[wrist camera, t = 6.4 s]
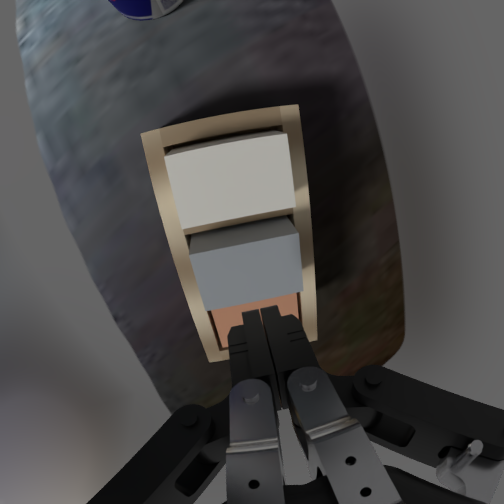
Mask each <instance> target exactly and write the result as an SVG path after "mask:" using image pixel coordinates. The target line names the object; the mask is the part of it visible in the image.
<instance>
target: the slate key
mask: <svg viewBox="0 0 504 504" xmlns="http://www.w3.org/2000/svg"><path fill="white" fill-rule="evenodd" d="M189 257H190V261H191V264H192V268H193V271H194V275H195V278H196V281H197V285H198V288H199V291H200V295H201V298H202V301H203V304H204V308H205V311H210V310H215V309H220V308H225V307H231V306H236V305H241V304H246V303H251V302H255V301H260V300H265V299H270V298H274V297H279V296H284V295H288V294H293V293H297V292H301V291H304V290H303V277H302V265H301V253H300V242H299V233H298V231H297V230H296V228H295V227H294V226H293V224H292V223H291V221H290V220H289V219H288V217H287V216H286V215H282V216H277V217H272V218H267V219H261V220H256V221H251V222H246V223H241V224H236V225H231V226H226V227H221V228H216V229H211V230H206V231H201V232H197V233H192V234H191V242H190V250H189Z"/></svg>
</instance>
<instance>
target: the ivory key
mask: <svg viewBox="0 0 504 504" xmlns="http://www.w3.org/2000/svg"><path fill="white" fill-rule="evenodd" d="M164 159H165V164H166V168H167V172H168V177H169V181H170V185H171V189H172V193H173V197H174V201H175V205H176V209H177V213H178V217H179V221H180V224H181V228H182V229H186V228H191V227H196V226H201V225H205V224H210V223H215V222H220V221H225V220H230V219H235V218H240V217H245V216H250V215H255V214H261V213H266V212H271V211H276V210H282V209H287V208H293V207H296V202H295V193H294V185H293V176H292V168H291V160H290V152H289V145H288V137H287V133H283V132H279V131H276V130H270V131H263V132H256V133H250V134H244V135H238V136H233V137H227V138H222V139H217V140H212V141H207V142H202V143H197V144H193V145H188V146H184V147H179V148H175V149H172V150H171V151H170V152H169V153H167V154H166V155H165V156H164Z"/></svg>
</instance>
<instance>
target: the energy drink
mask: <svg viewBox="0 0 504 504" xmlns="http://www.w3.org/2000/svg"><path fill="white" fill-rule="evenodd" d="M108 1H109V2H110V3H111V4H112V5H113V6H114V7H115V8H116V9H117V10H118V11H119V12H120V13H121V14H122V15H124V16H126V17H127V18H130V19H133V20H141V21H142V20H151V19H156V18H159V17H162V16H164V15H166V14H168V13H170V12H171V11H173V10H174V9H176V8H177V7H178V6H179V5H180V4H181V3H182V2H183V0H108Z"/></svg>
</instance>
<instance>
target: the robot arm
mask: <svg viewBox="0 0 504 504" xmlns="http://www.w3.org/2000/svg"><path fill="white" fill-rule="evenodd" d="M260 312H261V316H260ZM260 312H259V309H255V310H250V311H245V312H242V319H243V325H238V326H233V327H231V329H230V331H229V333H228V335H227V340H228V350H229V359H230V368H231V377H232V389H231V392H230V394H229V395H228V396H227V398H225V399H224V400H223V401H222V402H220V403H218V404H216V405H214V406H211V407H209V408H207V409H206V408H204V407H203V406H200V405H196V404H190V405H185V406H183V407H181V408H179V409H178V410H176V411H175V412H174V413H173V415H172V416H171V417H170V418H169V419H168V420H167V421H166V422H165V423H164V424H163V426H162V427H161V428H160V429H159V430H158V431H157V432H156V433H155V434H154V435H153V436H152V437H151V438H150V440H149V441H148V442H147V443H146V444H145V445H144V446H143V447H142V448H141V449H140V450H139V451H138V452H137V453H136V454H135V456H134V457H132V459H131V460H130V461H129V462H128V463H127V464H126V465H125V466H124V467H123V468H122V469H121V470H120V471H119V472H118V473H117V474H116V475H115V476H114V477H113V478H112V479H111V480H110V481H109V482H108V483H107V484H106V485H105V486H104V487H103V488H102V489H101V490H100V491H99V492H98V493H97V494H96V495H95V496H94V497H93V498H92V499H91V500H90V501H89V502H88V503H87V504H193V503H194V502H195V501H196V500H197V499H198V497H199V496H200V495H201V494H202V493H203V491H204V490H205V489H206V488H207V486H208V485H209V484H210V482H211V481H212V480H213V479H214V477H215V476H216V475H217V473H218V472H219V471H220V470H221V468H222V467H223V466H224V465H225V463H226V491H227V501H226V502H224V503H222V504H490V502H491V500H492V498H493V495H494V493H495V491H496V488H497V486H498V483H499V480H500V478H501V475H502V472H503V469H504V410H502V409H499V408H496V407H493V406H489V405H487V404H483V403H481V402H477V401H474V400H471V399H469V398H466V397H463V396H460V395H457V394H454V393H451V392H448V391H446V390H443V389H440V388H437V387H434V386H432V385H429V384H426V383H424V382H421V381H418V380H416V379H413V378H410V377H408V376H405V375H403V374H400V373H397V372H395V371H392V370H390V369H387V368H385V367H382V366H379V365H369V366H365V367H363V368H361V369H360V370H358V371H357V372H356V374H355V376H335V375H331V374H328V373H326V372H325V371H324V370H322V369H321V367H320V366H319V364H318V362H317V359H316V357H315V354H314V352H313V350H312V347H311V345H310V342H309V340H308V338H307V335H306V333H305V331H304V328H303V326H302V323H301V321H300V320H299V319H298V318H297V317H295V316H294V315H293V314H289V315H285V316H281V314H280V311H279V308H278V306H277V305H274V306H269V307H264V308H260ZM261 318H262V320H261ZM262 323H263V324H262ZM278 392H279V393H278ZM279 396H280V399H279ZM280 400H281V404H282V407H283V409H287V408H289V410H290V415H291V419H292V425H293V428H294V431H295V434H296V436H297V439H298V441H299V444H300V447H301V449H302V452H303V454H304V457H305V460H306V462H307V466H308V470H309V474H310V477H311V480H312V481H311V482H309V483H307V484H304V485H287V483H286V477H285V471H284V464H283V456H282V449H281V442H280V435H279V419H278V414H277V411H278V410H281V405H280ZM370 441H372V442H375V443H377V444H379V445H381V446H383V447H386V448H388V449H390V450H392V451H395V452H397V453H399V454H402V455H404V456H406V457H409V458H411V459H414V460H416V461H419V462H422V463H424V464H427V465H429V466H432V467H434V468H436V476H437V478H438V480H439V482H440V483H442V484H443V485H445V486H447V487H448V488H449V489H450V490H451V491H450V490H448V489H445V488H443V487H440V486H438V485H435V484H433V483H430V482H428V481H426V480H423V479H421V478H418V477H416V476H414V475H412V474H410V473H408V472H405V471H403V470H401V469H399V468H396V467H392V466H387V465H383V464H382V462H381V460H380V459H379V457H378V455H377V453H376V451H375V450H374V447H373V446H372V444H371V442H370Z"/></svg>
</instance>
